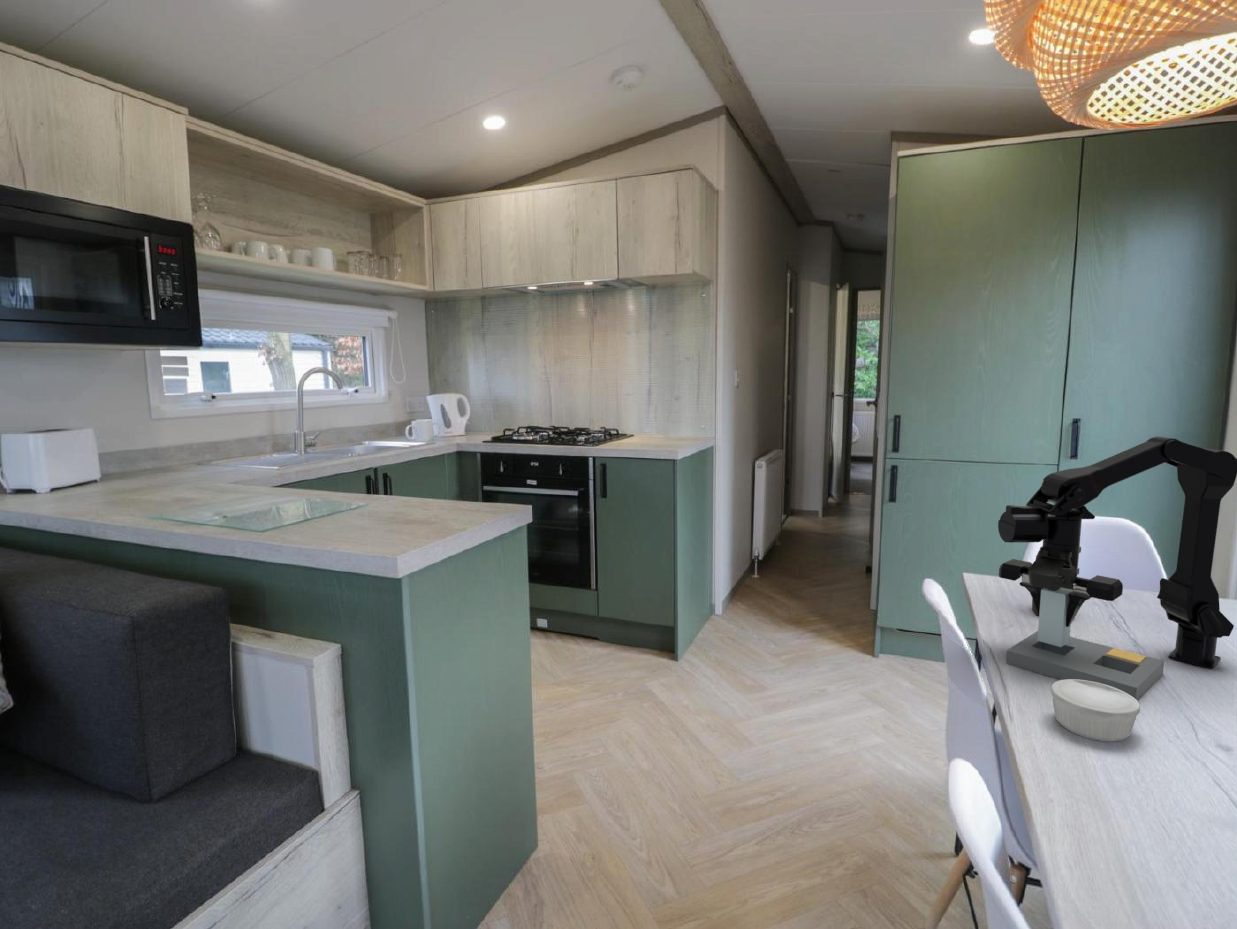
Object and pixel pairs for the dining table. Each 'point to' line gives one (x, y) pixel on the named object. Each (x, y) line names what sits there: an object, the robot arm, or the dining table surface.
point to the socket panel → (1088, 663)
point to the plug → (1054, 617)
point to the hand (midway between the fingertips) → (1054, 623)
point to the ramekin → (1094, 709)
